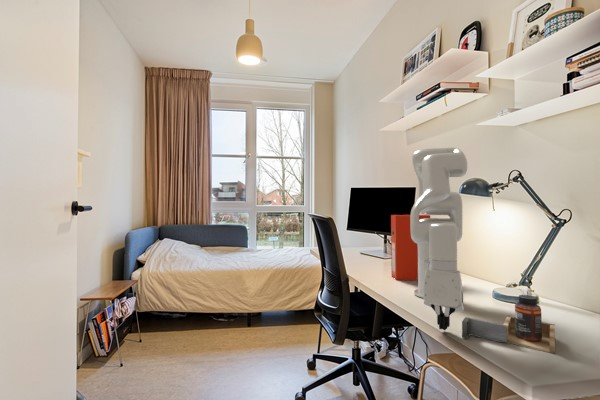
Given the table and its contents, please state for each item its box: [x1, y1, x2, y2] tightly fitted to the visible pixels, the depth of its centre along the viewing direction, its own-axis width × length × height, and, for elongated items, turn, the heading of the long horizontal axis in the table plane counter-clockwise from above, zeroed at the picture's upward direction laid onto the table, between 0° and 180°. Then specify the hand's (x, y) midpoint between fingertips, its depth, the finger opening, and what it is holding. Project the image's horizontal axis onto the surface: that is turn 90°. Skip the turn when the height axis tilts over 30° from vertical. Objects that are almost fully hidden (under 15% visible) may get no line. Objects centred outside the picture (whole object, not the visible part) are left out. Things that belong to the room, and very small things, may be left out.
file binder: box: [390, 214, 431, 281], centre depth 158 cm, size 8×17×32 cm, turn 90°
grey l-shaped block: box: [461, 316, 508, 344], centre depth 85 cm, size 4×10×4 cm, turn 51°
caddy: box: [502, 315, 556, 354], centre depth 86 cm, size 11×11×4 cm
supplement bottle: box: [514, 294, 543, 342], centre depth 86 cm, size 6×6×11 cm
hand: (443, 328), depth 91 cm, fingers closed
